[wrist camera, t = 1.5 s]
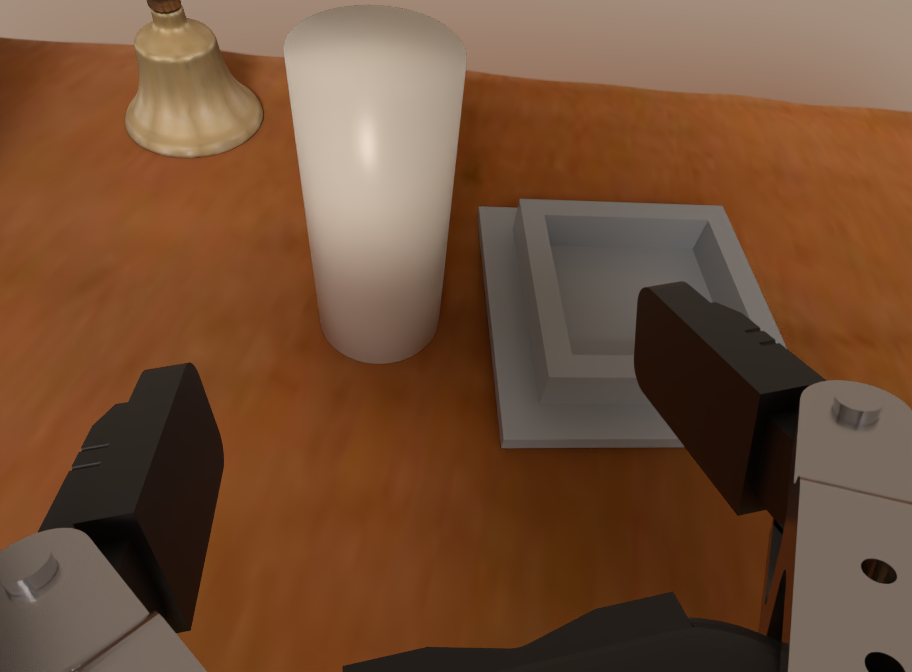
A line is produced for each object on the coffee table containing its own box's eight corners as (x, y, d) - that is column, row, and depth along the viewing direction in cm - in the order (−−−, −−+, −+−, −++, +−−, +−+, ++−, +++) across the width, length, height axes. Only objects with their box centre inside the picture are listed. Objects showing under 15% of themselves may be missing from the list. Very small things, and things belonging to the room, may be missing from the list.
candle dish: (501, 448, 28) (511, 414, 26) (477, 216, 37) (483, 175, 35) (817, 446, 30) (855, 414, 27) (720, 224, 39) (743, 185, 36)
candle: (314, 363, 30) (272, 95, 19) (324, 270, 34) (293, -1, 22) (441, 364, 31) (472, 106, 19) (437, 272, 34) (461, 10, 23)
